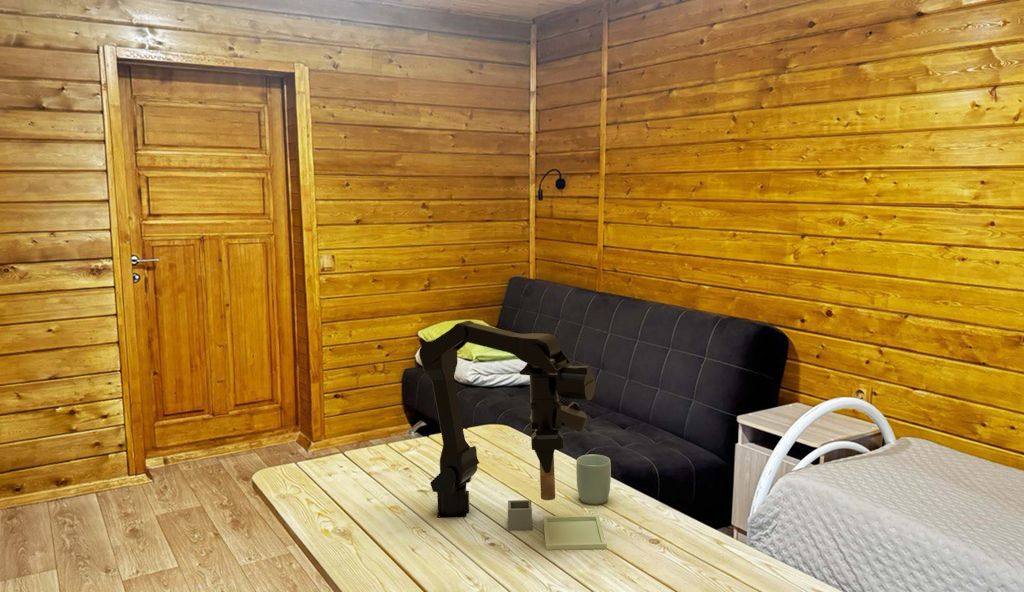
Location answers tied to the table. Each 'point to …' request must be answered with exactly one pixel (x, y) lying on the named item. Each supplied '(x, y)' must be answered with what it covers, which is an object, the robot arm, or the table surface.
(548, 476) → the dowel
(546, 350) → the robot arm
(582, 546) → the tray
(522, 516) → the pen cup
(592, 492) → the cup
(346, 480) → the table surface
